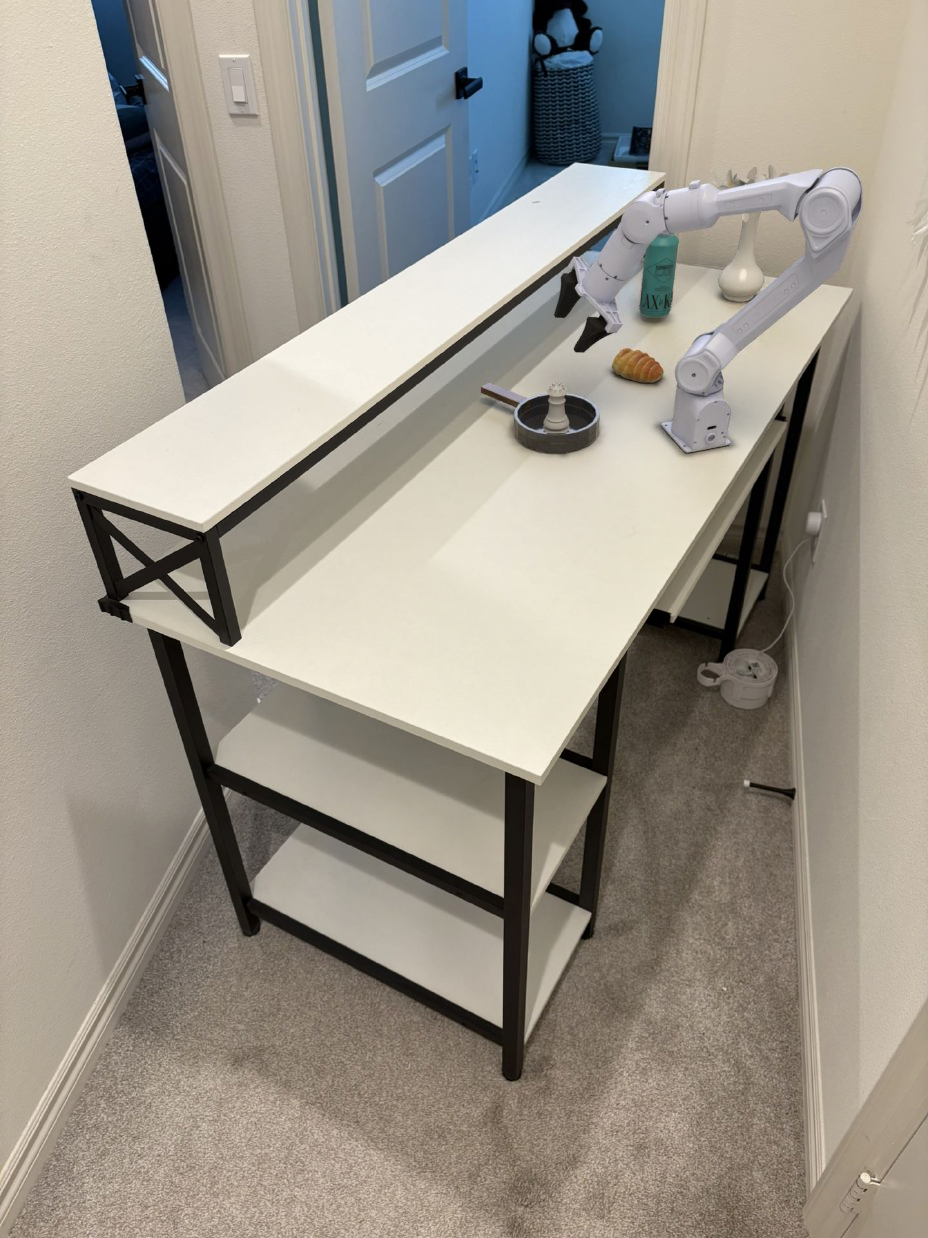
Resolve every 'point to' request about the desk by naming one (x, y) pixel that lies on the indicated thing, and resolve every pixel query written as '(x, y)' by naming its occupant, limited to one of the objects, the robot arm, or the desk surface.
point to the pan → (534, 437)
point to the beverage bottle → (659, 276)
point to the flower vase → (743, 244)
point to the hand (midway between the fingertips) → (568, 333)
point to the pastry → (637, 366)
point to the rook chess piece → (556, 410)
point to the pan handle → (503, 395)
